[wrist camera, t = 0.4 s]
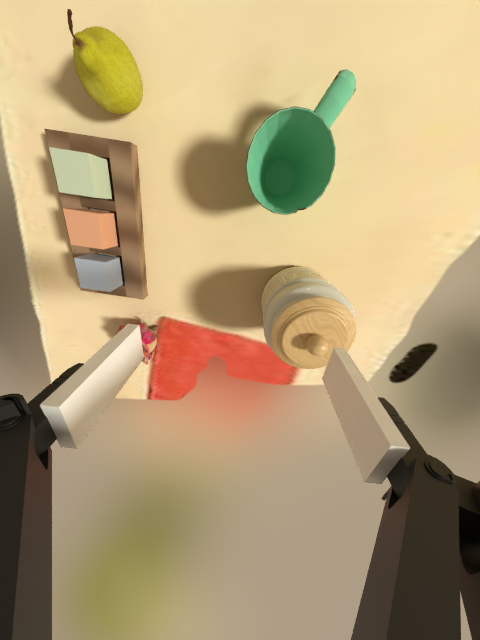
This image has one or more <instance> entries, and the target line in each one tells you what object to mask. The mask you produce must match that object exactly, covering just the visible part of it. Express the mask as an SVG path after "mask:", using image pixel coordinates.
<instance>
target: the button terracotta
mask: <svg viewBox="0 0 480 640" xmlns="http://www.w3.org/2000/svg"><path fill="white" fill-rule="evenodd" d="M63 212H64V216H65V221H66V225H67V230H68V234H69V238H70V243H71V245H77V246H83V247H90V248H97V249H107V248H111V247H115V246H118V242H117V234H116V226H115V219H114V213H108V212H102V211H95V210H89V209H77V208H63Z"/></svg>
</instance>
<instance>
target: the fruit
mask: <svg viewBox="0 0 480 640" xmlns="http://www.w3.org/2000/svg"><path fill="white" fill-rule="evenodd" d="M67 14H68V24H69V29H70V31H71V34H72V36H73V48H74V63H75V68H76V71H77V73H78V76H79V78H80V80H81V82H82V84H83V86H84V88H85V90H86V91H87V93H88V94H89V95H90V97H91V98H92V99H93V100H95V101H96V102H97V103H98V104H99V105H100V106H101V107H103V108H104V109H106V110H107V111H109V112H112V113H115V114H126V113H129V112H132V111H134V110H135V109H136V108H138V106H139V105H140V103H141V100H142V96H143V87H142V80H141V76H140V73H139V70H138V67H137V64H136V62H135V60H134V58H133V56H132V54H131V52H130V51H129V49H128V48H127V46H126V45H125V43H124V42H123V41H122V40H121V39H120V38H119V37H118V36H116V35H115V34H114V33H112V32H111V31H109V30H107V29H105V28H102V27H90V28H86V29H85V30H83V31H81V32H78V33H76V34H75V35H74V34H73V30H72V28H73V25H72V20H71V15H72V12H71V10H70V9H68V11H67Z"/></svg>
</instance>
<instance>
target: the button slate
mask: <svg viewBox="0 0 480 640" xmlns="http://www.w3.org/2000/svg"><path fill="white" fill-rule="evenodd" d="M74 261H75V265H76V270H77V274H78V279H79V283H80V287H81V288H86V289H93V290H100V291H107V292H111V291H113V290H114V289H116V288H118V287H120V286H121V285H123V282H122V274H121V266H120V258H119V257H112V256H106V255H99V254H92V253H90V254H86V255H83V256H79V257H75V258H74Z"/></svg>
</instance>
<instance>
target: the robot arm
mask: <svg viewBox="0 0 480 640" xmlns="http://www.w3.org/2000/svg"><path fill="white" fill-rule="evenodd" d="M143 358H144V354H143V347H142V340H141V333H140V326H139V325H135V324H127V325H126V326H125V327H124V328H123V329H122V330H121V331H120V332H118V333H117V334H116V335H115V336H114V337H113V338H112V339H111V340H110V341H109V342H108V343H106V344H105V345H104V346H103V347H102V348H101V349H100V350H99V351H98V352H97V353H96V354H95V355H93V356H92V357H91V358H90V359H89V360H88V361H87V362H86V363H85V364H82V363H78V364H76V365H74V366H72V367H71V368H69V369H67V370H66V371H65V372H64V373H62V374H61V375H60V376H59V378H57V379H56V380H54V381H53V382H52V384H50V385H49V386H47V387H46V388H45V389H44V390H43V391H42V392H41V393H39V394H38V395H37V396H36V397H35V398H34V399H32V400H31V401H30V402H29V403H28V404H27V402H26V401H25V399H24V397H23V396H22V395H20V394H8V395H3V396H0V640H52V450H51V448H50V446H51V445H52V444H53V442H54V441H55V440H56V439H57V441H58V443H59V445H60V447H67V448H75V449H77V448H78V447H79V446H80V444H81V443H82V442H83V440H84V439H85V437H86V436H87V435H88V433H89V432H90V431H91V429H92V428H93V426H94V425H95V424H96V422H97V421H98V420H99V418H100V417H101V416H102V414H103V413H104V411H105V410H106V409H107V407H108V406H109V405H110V403H111V402H112V401H113V399H114V398H115V397H116V395H117V394H118V392H119V391H120V390H121V388H122V387H123V386H124V384H125V383H126V381H127V380H128V379H129V377H130V376H131V375H132V373H133V372H134V371H135V369H136V368H137V366H138V365H139V364H140V362H141V361H142V360H143ZM322 379H323V382H324V384H325V387H326V389H327V391H328V394H329V396H330V399H331V401H332V404H333V406H334V409H335V411H336V413H337V416H338V418H339V421H340V423H341V425H342V428H343V431H344V433H345V436H346V438H347V440H348V443H349V445H350V448H351V450H352V453H353V455H354V458H355V460H356V462H357V465H358V467H359V470H360V472H361V475H362V477H363V479H364V482H369V483H377V484H382V482H383V481H384V480H385V479H386V477H388V479H389V481H390V483H391V485H392V486H391V487H390V488H389V489H388V491H387V492H386V493H385V494H384V495H383V497H382V499H383V500H385V499H386V498H387V499H386V503H385V507H384V510H383V514H382V519H381V522H380V526H379V530H378V534H377V538H376V543H375V546H374V551H373V554H372V558H371V562H370V566H369V570H368V574H367V578H366V582H365V586H364V590H363V594H362V598H361V602H360V606H359V610H358V614H357V618H356V622H355V625H354V629H353V634H352V638H351V640H461V621H460V620H461V619H460V591H461V595H462V599H463V604H464V608H465V611H466V616H467V620H468V624H469V628H470V632H471V636H472V640H480V481H479V482H478V483H477V484H476V483H474V482H471V481H469V480H466V479H464V478H461V477H459V476H456V475H454V474H453V473H452V471H451V470H450V469H449V468H448V467H447V466H446V465H445V464H444V463H442V462H441V461H439V460H438V459H437V458H434V457H432V456H430V455H427V454H426V452H425V451H424V449H423V448H422V446H421V445H420V444H419V442H418V441H417V439H416V438H415V437H414V435H413V434H412V432H411V431H410V429H409V428H408V427H407V425H405V422H404V421H403V420H402V418H401V417H399V414H398V413H397V411H396V410H395V408H394V407H393V406H392V405H391V404H390V403H389V402H388V401H386V400H385V399H384V398H378V397H377V396H376V395H375V393H374V392H373V390H372V389H371V387H370V386H369V385H368V383H367V381H366V380H365V378H364V377H363V375H362V374H361V372H360V371H359V369H358V368H357V366H356V365H355V363H354V362H353V360H352V359H351V357H350V356H349V354H348V353H347V351H346V349H342V348H333V351H332V354H331V356H330V359H329V361H328V364H327V367H326V369H325V372H324V375H323V377H322Z"/></svg>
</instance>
